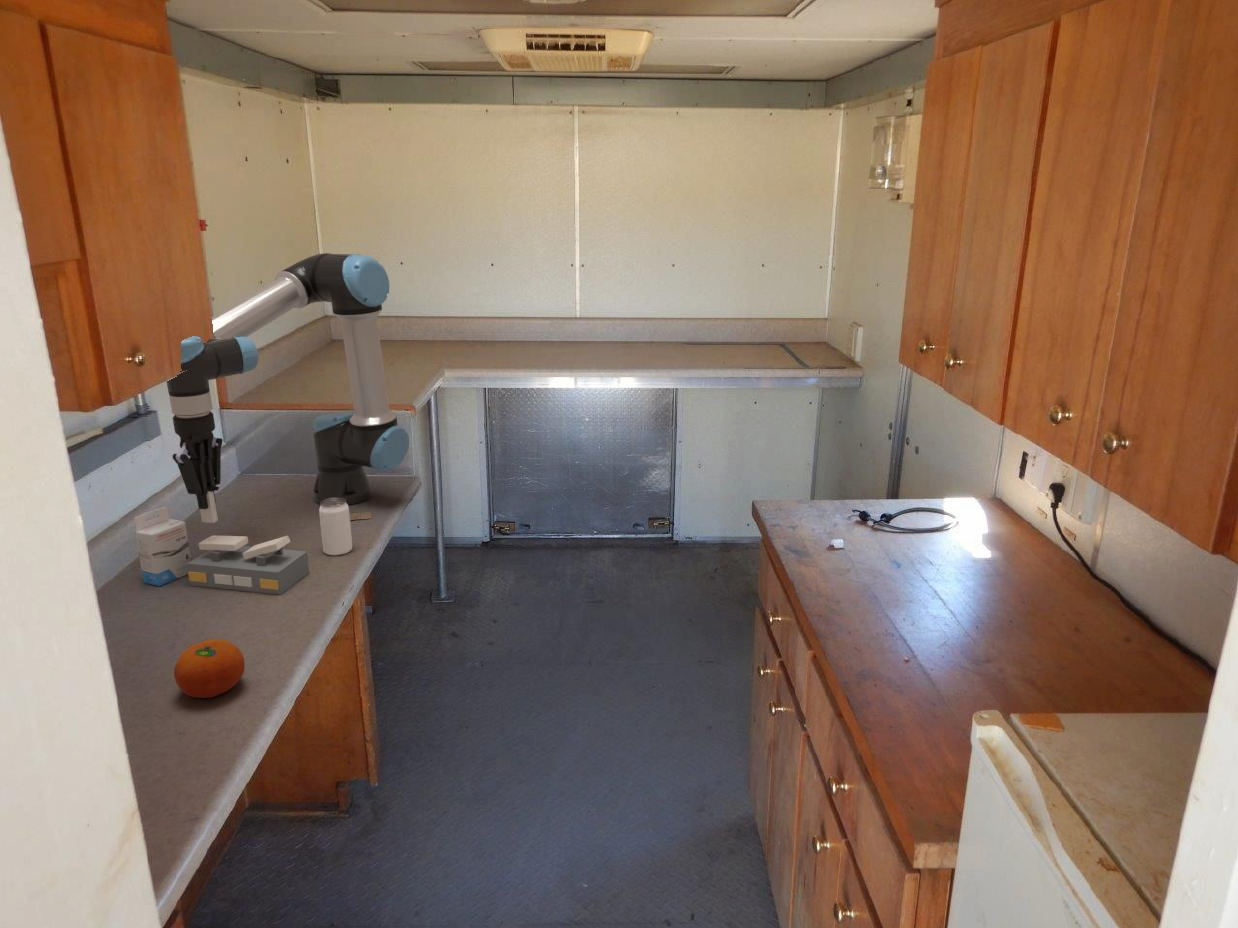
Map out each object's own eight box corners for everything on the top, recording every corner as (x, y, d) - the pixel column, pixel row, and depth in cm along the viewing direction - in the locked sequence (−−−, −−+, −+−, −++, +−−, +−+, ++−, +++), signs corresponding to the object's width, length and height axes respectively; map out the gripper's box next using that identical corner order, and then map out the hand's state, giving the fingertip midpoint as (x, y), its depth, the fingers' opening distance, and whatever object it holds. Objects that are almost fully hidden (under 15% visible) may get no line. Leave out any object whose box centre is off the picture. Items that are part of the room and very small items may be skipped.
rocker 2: (259, 555, 187) (255, 545, 186) (292, 545, 184) (287, 535, 184) (247, 563, 183) (242, 553, 182) (280, 554, 180) (275, 543, 180)
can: (344, 557, 198) (339, 507, 194) (317, 554, 199) (312, 505, 195) (357, 546, 204) (353, 498, 200) (332, 544, 205) (327, 496, 201)
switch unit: (222, 564, 193) (218, 535, 191) (309, 572, 190) (306, 543, 187) (189, 585, 183) (184, 555, 181) (280, 595, 179) (276, 564, 177)
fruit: (196, 673, 150) (189, 631, 148) (256, 672, 150) (251, 631, 148) (166, 708, 140) (158, 664, 138) (231, 707, 140) (225, 663, 138)
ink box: (158, 587, 182) (147, 521, 178) (142, 582, 184) (131, 517, 180) (193, 572, 190) (184, 508, 185) (178, 568, 192) (168, 504, 187)
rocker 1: (214, 545, 189) (212, 535, 188) (249, 546, 187) (247, 536, 186) (200, 553, 184) (198, 543, 184) (236, 555, 182) (234, 544, 182)
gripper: (197, 404, 184) (213, 508, 191) (154, 420, 172) (173, 531, 179) (228, 406, 182) (244, 511, 190) (187, 422, 170) (205, 534, 178)
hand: (209, 521), depth 185 cm, fingers closed
